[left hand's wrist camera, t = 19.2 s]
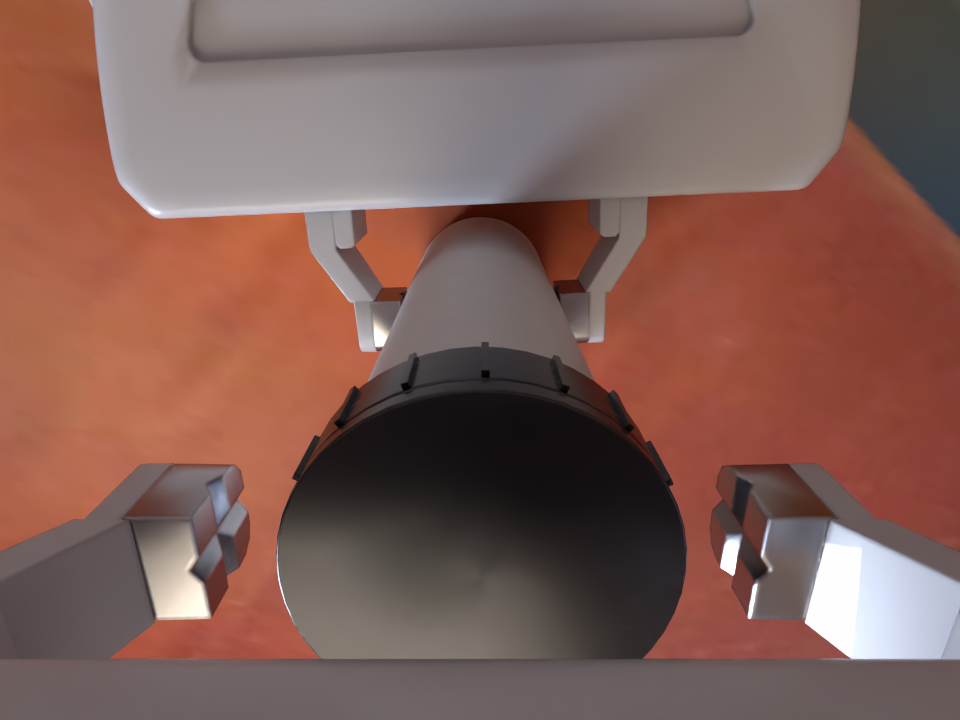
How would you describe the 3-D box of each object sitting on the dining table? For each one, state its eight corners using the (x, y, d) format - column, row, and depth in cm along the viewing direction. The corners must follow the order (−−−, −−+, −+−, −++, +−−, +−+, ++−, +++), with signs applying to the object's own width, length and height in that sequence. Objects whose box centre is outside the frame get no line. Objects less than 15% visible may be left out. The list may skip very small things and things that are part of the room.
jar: (490, 359, 26) (504, 713, 10) (395, 288, 25) (249, 565, 9) (567, 269, 25) (721, 521, 9) (470, 189, 23) (450, 318, 8)
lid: (473, 257, 8) (472, 287, 7) (734, 501, 10) (781, 569, 8) (232, 511, 10) (187, 582, 8) (488, 690, 11) (489, 777, 10)
